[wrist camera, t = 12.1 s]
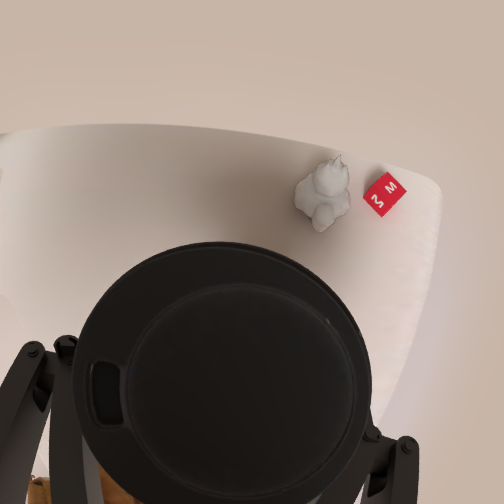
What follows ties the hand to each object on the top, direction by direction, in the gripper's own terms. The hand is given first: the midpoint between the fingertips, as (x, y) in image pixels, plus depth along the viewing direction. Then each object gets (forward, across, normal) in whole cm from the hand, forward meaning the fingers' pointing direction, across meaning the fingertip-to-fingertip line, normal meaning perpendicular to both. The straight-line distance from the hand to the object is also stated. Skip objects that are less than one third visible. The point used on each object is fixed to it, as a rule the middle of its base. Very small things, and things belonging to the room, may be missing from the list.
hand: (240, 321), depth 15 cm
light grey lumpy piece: (+16, +5, +4) cm, 17 cm away
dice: (+18, +12, +6) cm, 23 cm away
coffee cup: (+2, 0, -7) cm, 7 cm away
